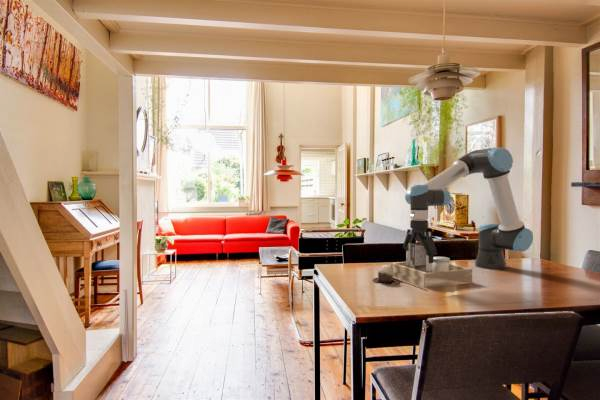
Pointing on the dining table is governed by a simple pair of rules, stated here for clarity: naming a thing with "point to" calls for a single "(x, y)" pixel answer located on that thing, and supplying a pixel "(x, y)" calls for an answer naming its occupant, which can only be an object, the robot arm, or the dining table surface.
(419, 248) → the coffee box
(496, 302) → the dining table surface
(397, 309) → the dining table surface
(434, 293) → the dining table surface
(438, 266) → the white light bulb
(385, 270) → the skull
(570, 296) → the dining table surface
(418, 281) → the crate
